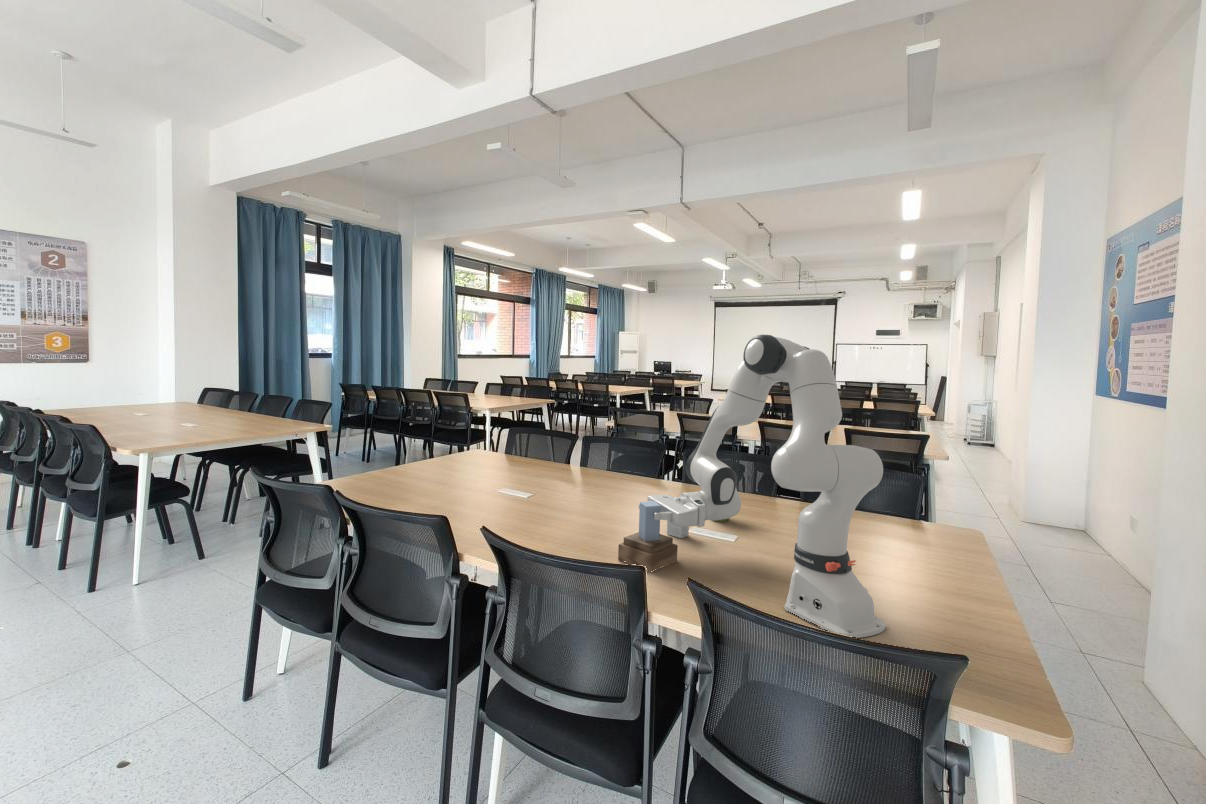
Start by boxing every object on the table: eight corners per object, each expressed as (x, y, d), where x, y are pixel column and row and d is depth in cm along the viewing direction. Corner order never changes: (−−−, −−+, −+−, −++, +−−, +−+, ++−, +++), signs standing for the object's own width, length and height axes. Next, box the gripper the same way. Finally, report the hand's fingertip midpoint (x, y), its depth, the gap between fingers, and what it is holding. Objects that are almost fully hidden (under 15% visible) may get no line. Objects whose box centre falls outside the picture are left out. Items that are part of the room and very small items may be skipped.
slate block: (659, 539, 155) (660, 505, 154) (644, 541, 153) (645, 506, 152) (652, 534, 159) (654, 501, 158) (638, 535, 157) (639, 502, 156)
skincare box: (688, 535, 179) (690, 500, 178) (681, 538, 176) (682, 502, 175) (673, 531, 183) (675, 496, 182) (666, 534, 180) (667, 498, 179)
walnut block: (676, 561, 157) (677, 538, 157) (651, 573, 148) (652, 548, 148) (644, 550, 165) (645, 528, 165) (618, 561, 157) (618, 537, 156)
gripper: (672, 488, 170) (632, 491, 165) (708, 506, 151) (663, 510, 146) (672, 508, 170) (631, 511, 165) (707, 528, 151) (662, 533, 146)
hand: (646, 511), depth 155 cm, fingers open, 8 cm apart
